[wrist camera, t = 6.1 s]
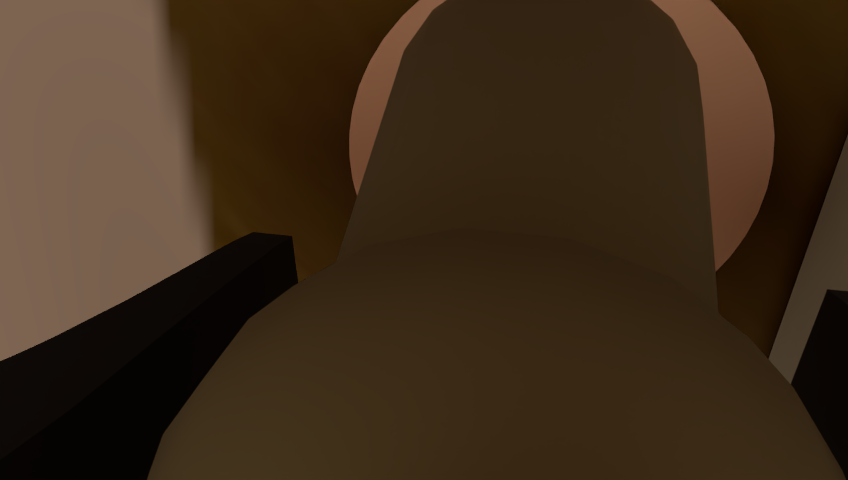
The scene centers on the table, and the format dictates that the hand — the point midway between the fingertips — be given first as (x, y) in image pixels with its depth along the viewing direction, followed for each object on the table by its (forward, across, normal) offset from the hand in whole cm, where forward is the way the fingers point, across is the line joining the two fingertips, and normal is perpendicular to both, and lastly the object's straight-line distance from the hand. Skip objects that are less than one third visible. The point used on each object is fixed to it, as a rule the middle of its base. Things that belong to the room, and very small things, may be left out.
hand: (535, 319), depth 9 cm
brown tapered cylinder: (+5, 0, -1) cm, 5 cm away
